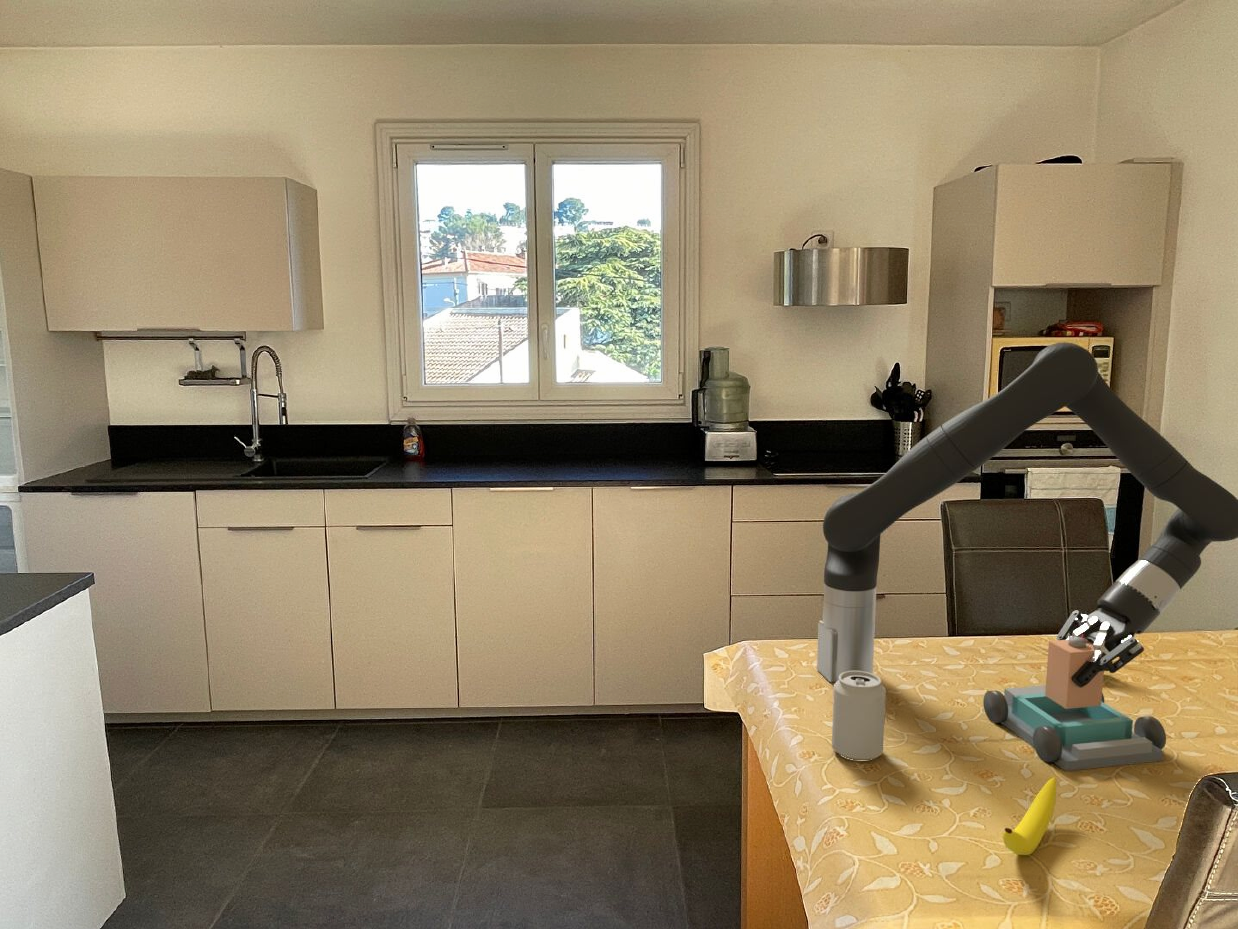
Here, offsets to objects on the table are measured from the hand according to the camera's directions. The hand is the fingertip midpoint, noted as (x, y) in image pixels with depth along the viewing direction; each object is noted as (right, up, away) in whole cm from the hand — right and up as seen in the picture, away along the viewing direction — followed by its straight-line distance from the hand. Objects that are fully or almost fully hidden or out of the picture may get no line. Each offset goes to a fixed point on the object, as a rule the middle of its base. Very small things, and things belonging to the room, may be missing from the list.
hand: (1064, 676), depth 139 cm
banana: (-17, -15, -26) cm, 35 cm away
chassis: (+2, -10, +2) cm, 10 cm away
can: (-33, -11, -3) cm, 35 cm away
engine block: (+2, -4, +1) cm, 5 cm away
